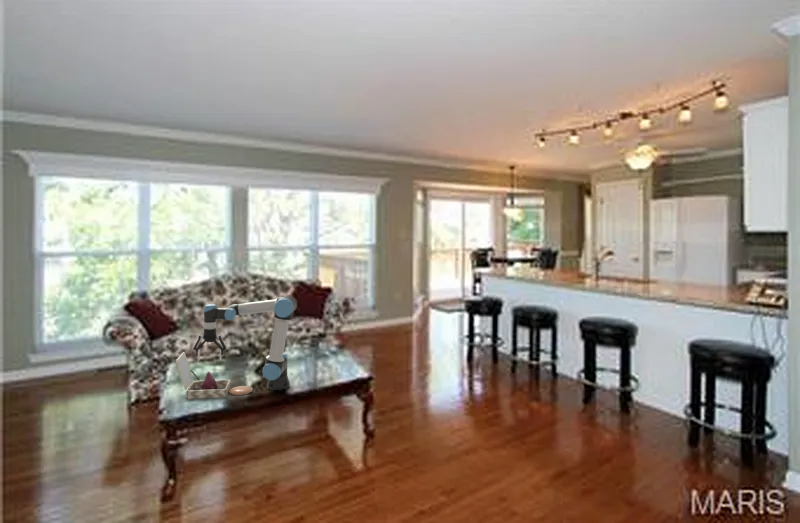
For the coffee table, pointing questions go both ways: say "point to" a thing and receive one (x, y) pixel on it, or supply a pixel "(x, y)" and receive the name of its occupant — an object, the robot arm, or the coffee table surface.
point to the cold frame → (207, 393)
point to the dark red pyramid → (209, 383)
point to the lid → (184, 370)
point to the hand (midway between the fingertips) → (209, 360)
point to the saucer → (240, 390)
